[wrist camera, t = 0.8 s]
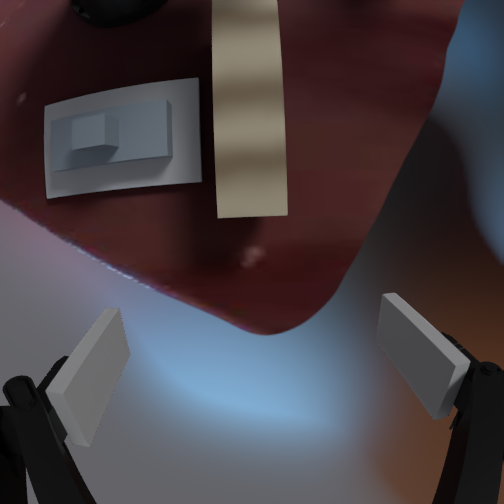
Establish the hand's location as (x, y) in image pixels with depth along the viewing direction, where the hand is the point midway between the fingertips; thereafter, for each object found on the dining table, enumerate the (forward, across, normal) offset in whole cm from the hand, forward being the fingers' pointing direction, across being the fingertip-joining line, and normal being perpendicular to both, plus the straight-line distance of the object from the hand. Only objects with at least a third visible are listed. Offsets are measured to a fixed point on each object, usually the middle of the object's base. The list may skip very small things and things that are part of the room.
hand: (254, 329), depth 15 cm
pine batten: (+20, +1, +14) cm, 24 cm away
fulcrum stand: (+23, -14, +12) cm, 29 cm away
